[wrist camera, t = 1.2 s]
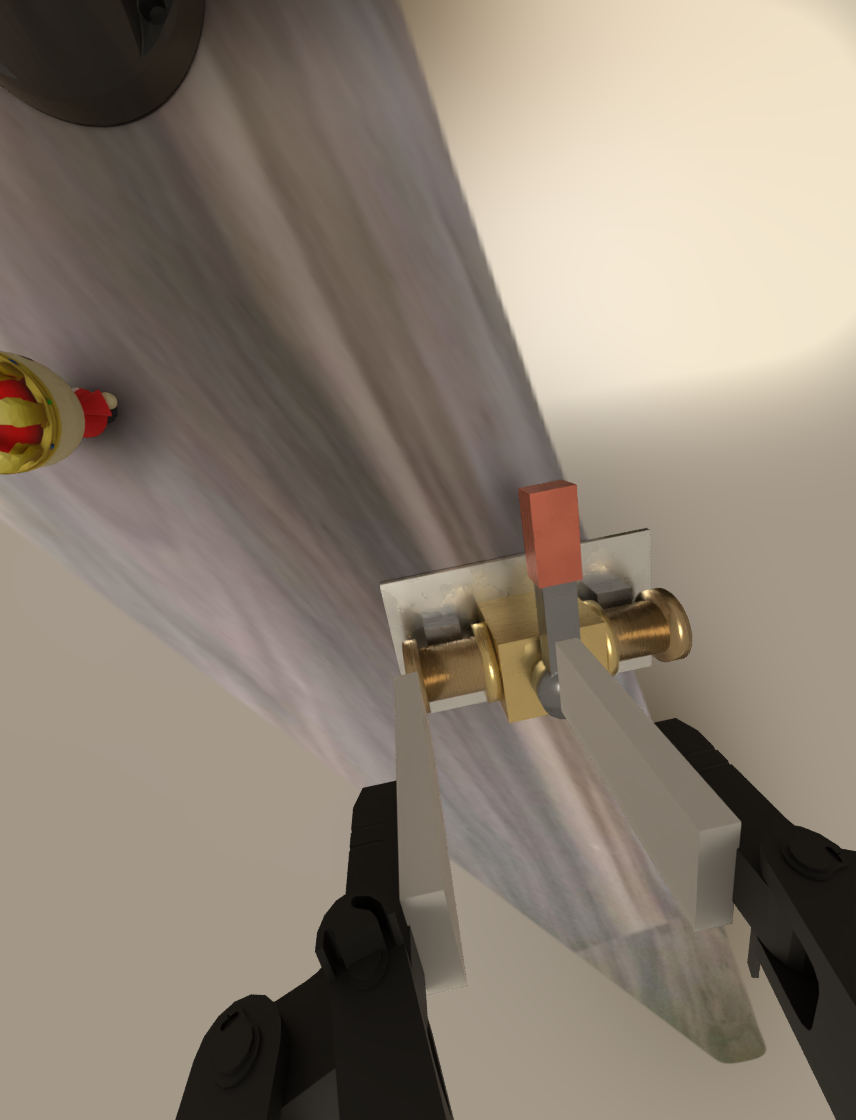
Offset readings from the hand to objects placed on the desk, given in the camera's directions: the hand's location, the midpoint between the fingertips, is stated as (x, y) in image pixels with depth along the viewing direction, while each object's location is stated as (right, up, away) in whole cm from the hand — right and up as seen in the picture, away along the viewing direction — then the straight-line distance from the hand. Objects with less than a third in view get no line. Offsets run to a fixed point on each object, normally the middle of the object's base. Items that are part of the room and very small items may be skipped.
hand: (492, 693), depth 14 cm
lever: (+6, +1, +15) cm, 17 cm away
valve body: (+7, -2, +25) cm, 26 cm away
